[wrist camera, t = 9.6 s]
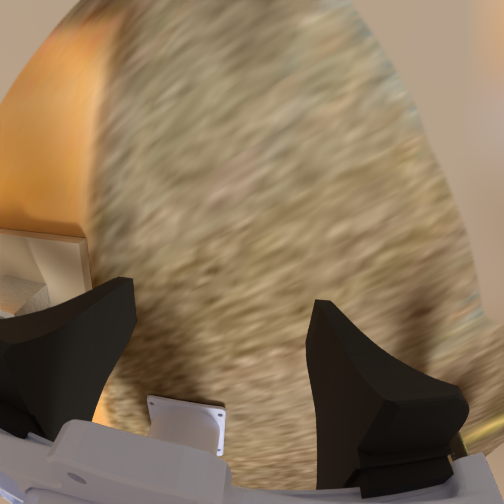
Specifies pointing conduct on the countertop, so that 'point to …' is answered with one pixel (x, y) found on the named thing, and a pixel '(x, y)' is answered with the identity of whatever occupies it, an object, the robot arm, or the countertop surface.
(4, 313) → the hollow square tube
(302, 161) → the countertop surface
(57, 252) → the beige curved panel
